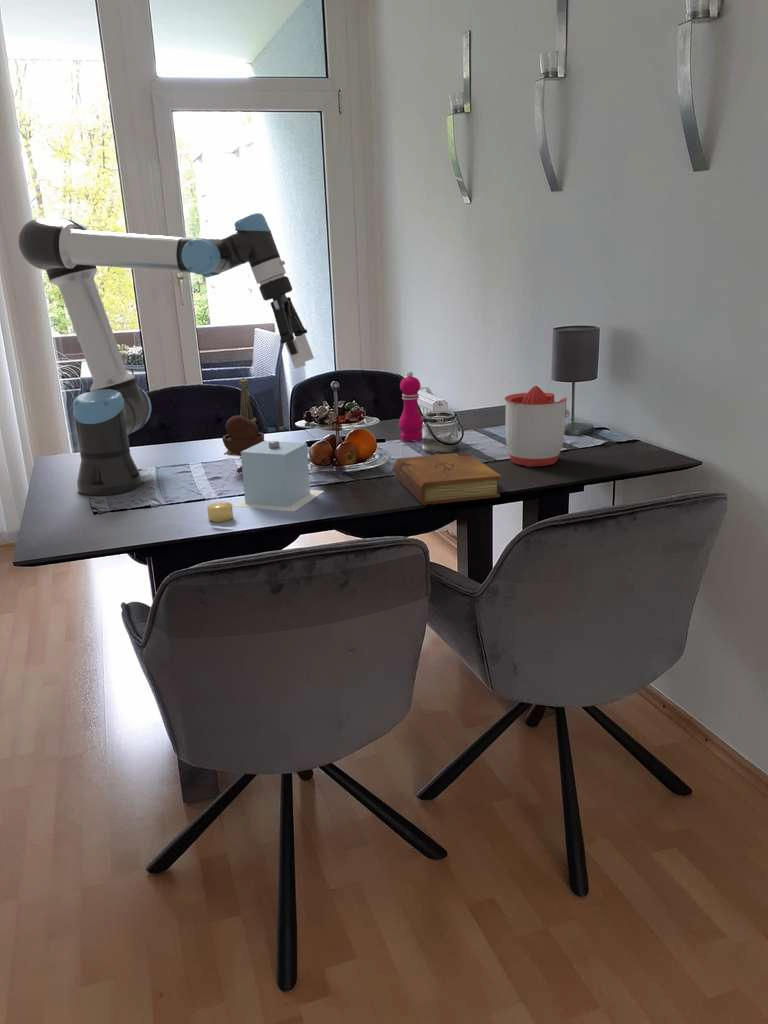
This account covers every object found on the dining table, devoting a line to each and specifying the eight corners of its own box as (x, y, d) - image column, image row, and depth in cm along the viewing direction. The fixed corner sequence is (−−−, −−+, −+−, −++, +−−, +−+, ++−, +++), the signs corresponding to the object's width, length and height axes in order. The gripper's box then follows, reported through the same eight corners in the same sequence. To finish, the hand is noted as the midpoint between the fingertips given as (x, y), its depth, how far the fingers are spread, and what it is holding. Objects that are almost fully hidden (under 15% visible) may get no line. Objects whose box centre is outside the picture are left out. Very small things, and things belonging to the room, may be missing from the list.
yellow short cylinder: (204, 521, 174) (202, 505, 173) (225, 516, 177) (224, 500, 176) (216, 527, 170) (214, 511, 169) (237, 521, 173) (236, 505, 172)
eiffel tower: (253, 447, 238) (246, 361, 231) (276, 452, 231) (269, 364, 223) (223, 454, 231) (215, 366, 224) (245, 459, 224) (237, 369, 216)
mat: (230, 507, 182) (230, 505, 182) (264, 488, 196) (264, 486, 196) (294, 513, 177) (293, 511, 177) (324, 492, 191) (324, 490, 191)
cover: (245, 503, 183) (240, 446, 179) (268, 489, 193) (264, 435, 189) (288, 507, 180) (284, 449, 176) (310, 493, 189) (306, 438, 185)
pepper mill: (400, 436, 245) (399, 369, 239) (424, 436, 244) (423, 369, 238) (397, 441, 238) (396, 373, 232) (422, 441, 237) (421, 373, 231)
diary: (395, 481, 201) (394, 458, 199) (466, 474, 205) (466, 452, 203) (421, 507, 180) (420, 482, 178) (500, 498, 184) (500, 474, 182)
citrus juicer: (582, 464, 208) (585, 386, 201) (522, 472, 202) (523, 393, 196) (550, 451, 222) (552, 378, 215) (493, 458, 216) (493, 384, 210)
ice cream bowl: (259, 477, 206) (255, 419, 201) (218, 476, 208) (213, 418, 204) (273, 466, 216) (269, 410, 211) (234, 465, 218) (229, 410, 213)
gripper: (276, 275, 183) (311, 364, 189) (295, 273, 207) (325, 352, 213) (246, 287, 185) (281, 375, 190) (268, 284, 208) (299, 362, 214)
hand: (304, 363), depth 201 cm, fingers open, 13 cm apart
